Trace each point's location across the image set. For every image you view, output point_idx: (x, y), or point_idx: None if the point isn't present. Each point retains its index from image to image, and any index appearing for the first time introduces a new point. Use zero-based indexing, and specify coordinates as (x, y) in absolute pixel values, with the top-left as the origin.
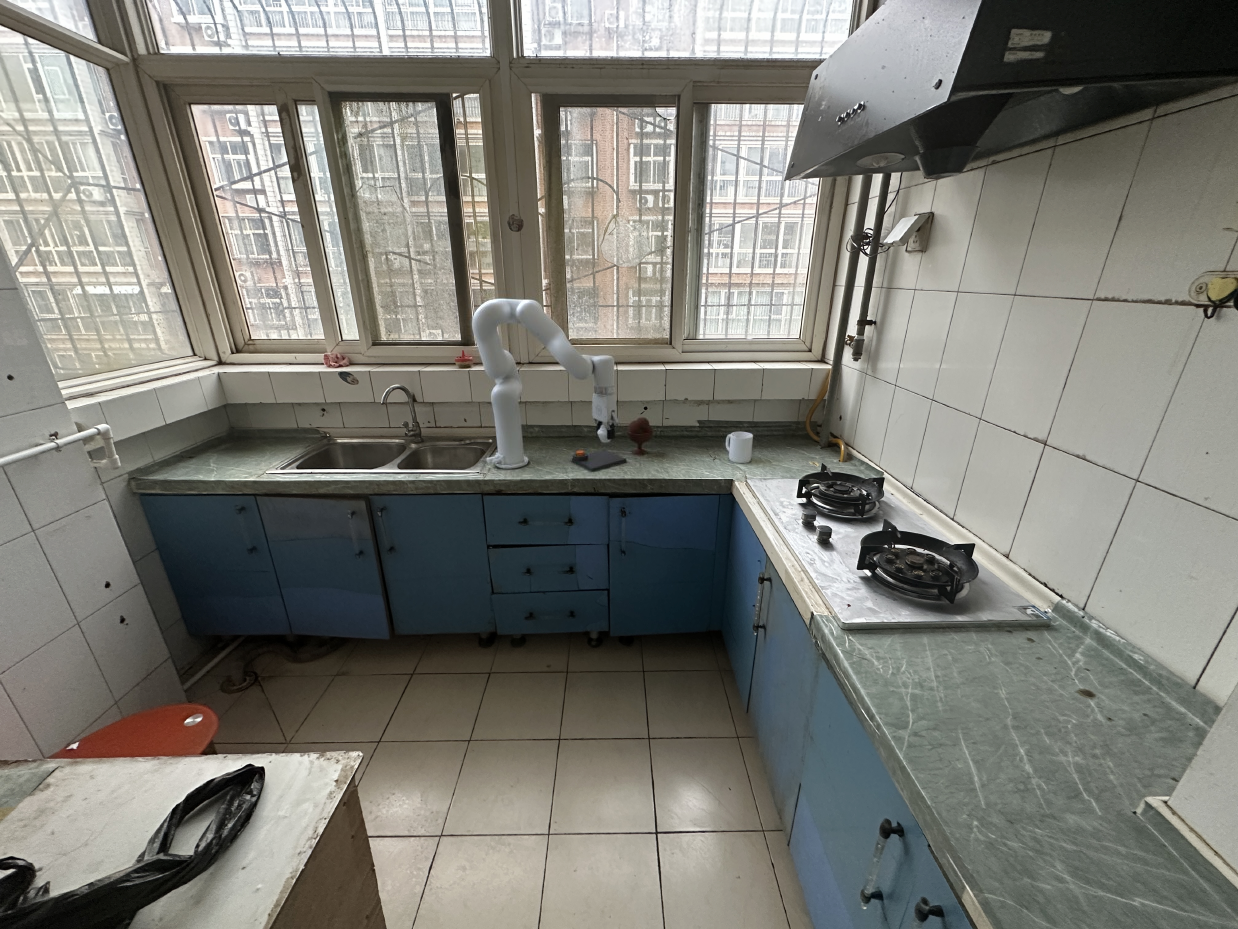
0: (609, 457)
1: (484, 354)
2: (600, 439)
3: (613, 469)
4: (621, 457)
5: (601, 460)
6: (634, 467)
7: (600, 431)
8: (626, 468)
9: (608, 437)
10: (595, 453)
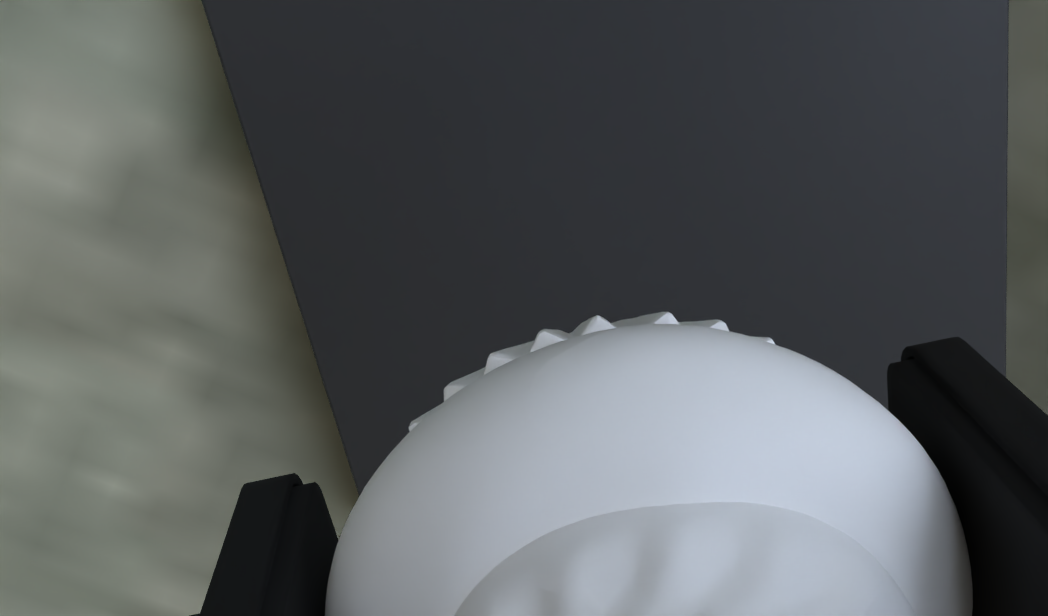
0: (573, 326)
1: None
2: (629, 321)
3: (125, 189)
4: None
5: (493, 123)
6: (96, 523)
7: (592, 474)
8: (95, 402)
9: (242, 542)
10: (928, 178)
